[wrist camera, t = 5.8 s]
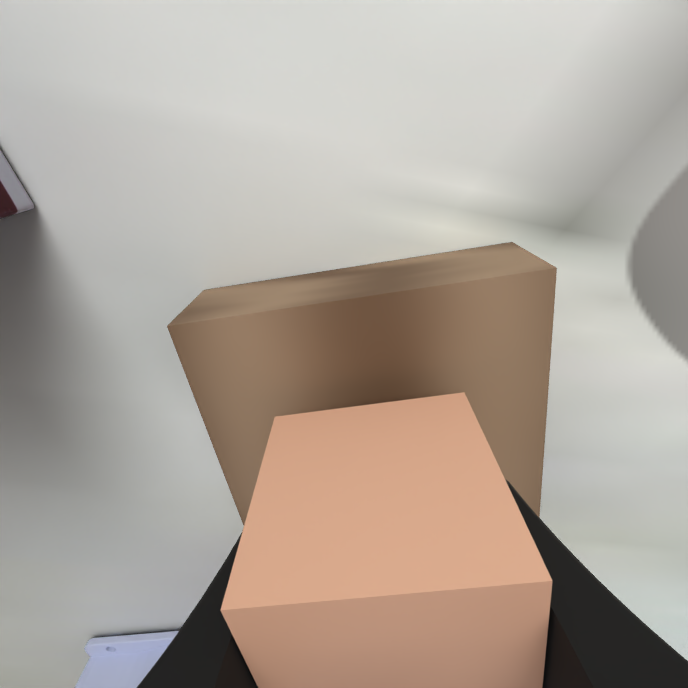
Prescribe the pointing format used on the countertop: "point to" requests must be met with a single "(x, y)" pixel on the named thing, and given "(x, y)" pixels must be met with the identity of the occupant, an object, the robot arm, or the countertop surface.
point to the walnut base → (377, 352)
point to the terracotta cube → (387, 556)
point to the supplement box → (11, 191)
